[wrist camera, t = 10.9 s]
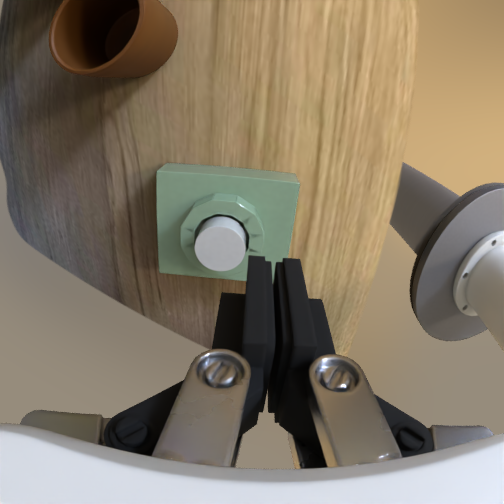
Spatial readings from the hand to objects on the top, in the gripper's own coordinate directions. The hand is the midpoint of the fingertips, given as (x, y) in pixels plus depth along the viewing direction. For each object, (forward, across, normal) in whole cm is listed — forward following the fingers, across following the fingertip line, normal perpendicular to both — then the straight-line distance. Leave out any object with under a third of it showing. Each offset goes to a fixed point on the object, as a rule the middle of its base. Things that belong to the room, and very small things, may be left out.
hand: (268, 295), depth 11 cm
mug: (+20, +12, -14) cm, 27 cm away
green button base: (+20, +3, +5) cm, 21 cm away
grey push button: (+15, +3, +5) cm, 16 cm away
